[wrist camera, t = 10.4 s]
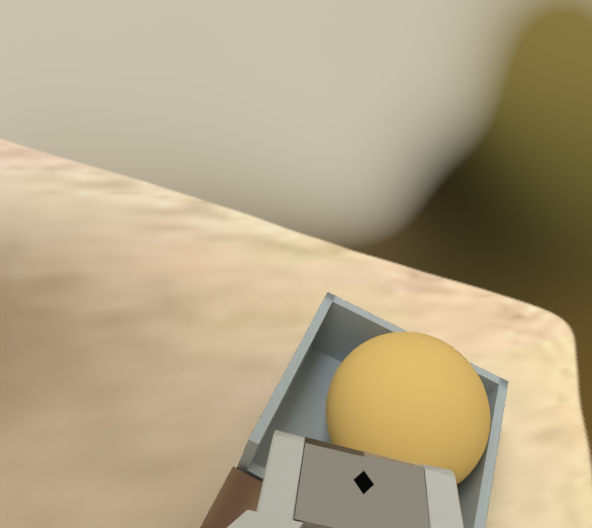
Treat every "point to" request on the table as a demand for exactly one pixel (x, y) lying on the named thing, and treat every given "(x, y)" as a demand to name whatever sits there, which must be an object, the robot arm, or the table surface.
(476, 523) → the tray
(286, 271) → the table surface
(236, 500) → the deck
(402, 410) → the ball
